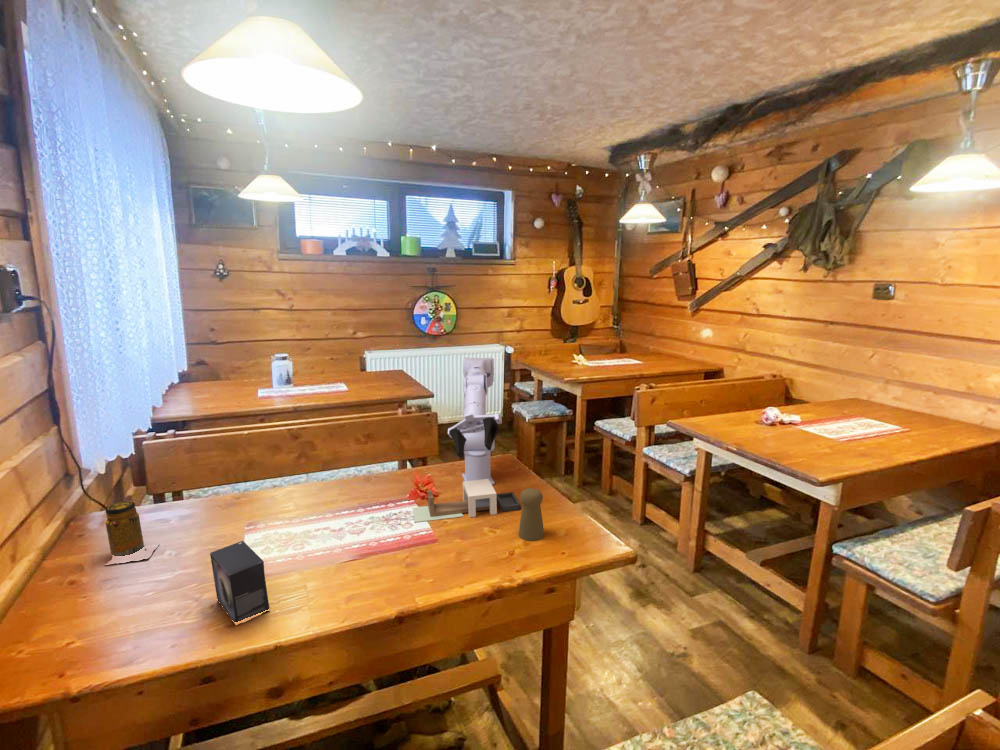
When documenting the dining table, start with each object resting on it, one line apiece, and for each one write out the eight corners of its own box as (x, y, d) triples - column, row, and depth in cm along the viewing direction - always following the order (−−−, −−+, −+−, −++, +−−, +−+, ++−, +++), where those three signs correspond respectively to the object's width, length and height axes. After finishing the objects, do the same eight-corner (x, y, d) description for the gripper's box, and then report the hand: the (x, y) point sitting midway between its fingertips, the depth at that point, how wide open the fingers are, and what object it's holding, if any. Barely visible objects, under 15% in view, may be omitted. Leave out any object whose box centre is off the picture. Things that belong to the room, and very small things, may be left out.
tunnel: (463, 501, 143) (462, 481, 142) (488, 498, 145) (488, 478, 144) (469, 517, 134) (468, 496, 133) (496, 514, 136) (496, 493, 135)
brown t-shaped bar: (428, 508, 139) (427, 490, 138) (492, 500, 143) (492, 483, 142) (430, 516, 134) (429, 498, 133) (496, 508, 138) (496, 490, 137)
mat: (412, 508, 140) (412, 507, 140) (458, 503, 142) (458, 502, 142) (414, 522, 132) (414, 521, 132) (463, 516, 135) (463, 515, 135)
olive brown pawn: (545, 541, 122) (545, 496, 120) (518, 541, 122) (518, 496, 120) (543, 528, 128) (543, 485, 126) (518, 528, 128) (518, 485, 126)
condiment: (118, 549, 122) (109, 500, 119) (160, 544, 124) (152, 495, 121) (103, 567, 115) (94, 515, 112) (148, 561, 117) (139, 510, 114)
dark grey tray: (494, 498, 144) (494, 494, 144) (512, 496, 146) (512, 492, 145) (501, 512, 137) (501, 506, 137) (520, 509, 138) (520, 504, 138)
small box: (214, 602, 102) (207, 551, 100) (249, 587, 107) (243, 539, 104) (234, 628, 95) (227, 574, 93) (271, 611, 99) (265, 559, 97)
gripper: (443, 408, 141) (440, 450, 132) (493, 393, 137) (493, 434, 128) (455, 424, 146) (453, 465, 136) (504, 409, 142) (505, 451, 132)
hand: (473, 451), depth 132 cm, fingers open, 7 cm apart
